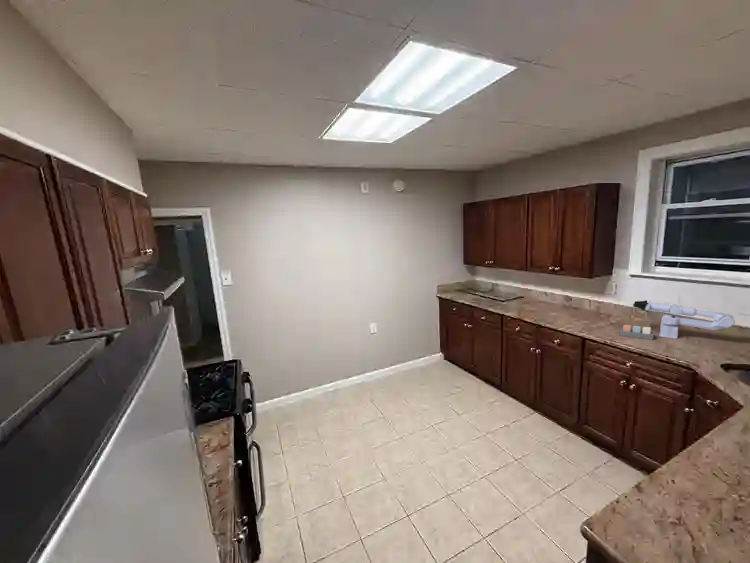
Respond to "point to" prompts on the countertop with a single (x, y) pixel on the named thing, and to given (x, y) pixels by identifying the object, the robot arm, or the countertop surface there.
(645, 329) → the key ivory
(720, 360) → the countertop surface
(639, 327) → the key slate
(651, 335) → the grey slotted frame
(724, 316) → the robot arm
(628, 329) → the key terracotta
